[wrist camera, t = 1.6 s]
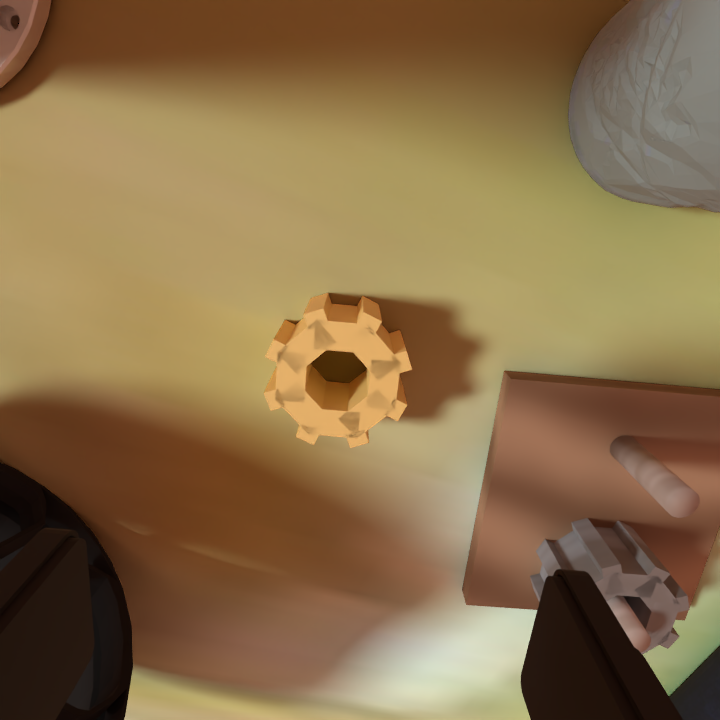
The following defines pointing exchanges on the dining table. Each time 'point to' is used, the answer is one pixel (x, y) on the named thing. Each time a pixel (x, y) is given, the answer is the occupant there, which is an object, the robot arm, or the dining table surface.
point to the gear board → (599, 497)
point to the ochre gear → (335, 399)
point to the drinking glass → (652, 104)
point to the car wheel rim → (109, 609)
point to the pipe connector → (700, 692)
